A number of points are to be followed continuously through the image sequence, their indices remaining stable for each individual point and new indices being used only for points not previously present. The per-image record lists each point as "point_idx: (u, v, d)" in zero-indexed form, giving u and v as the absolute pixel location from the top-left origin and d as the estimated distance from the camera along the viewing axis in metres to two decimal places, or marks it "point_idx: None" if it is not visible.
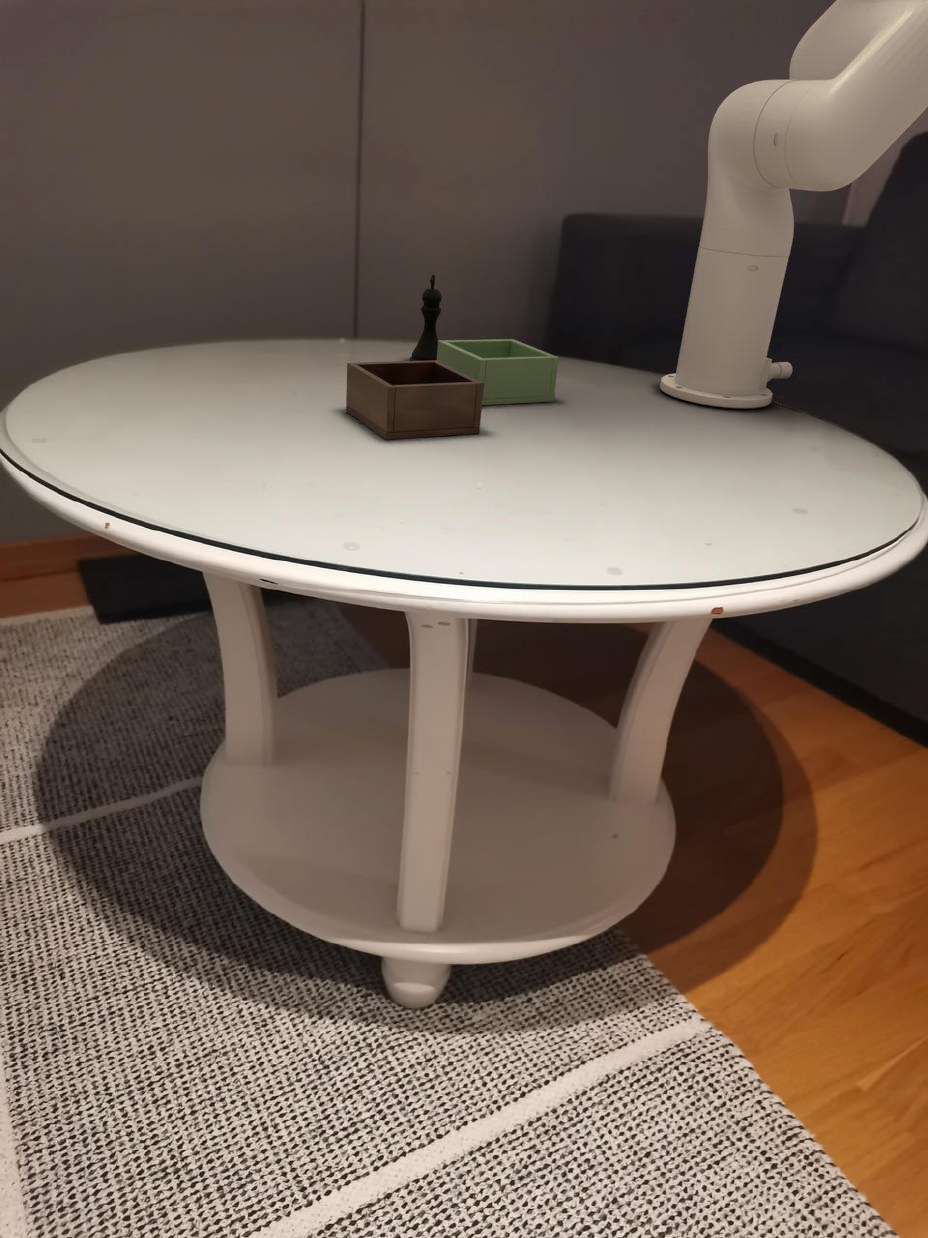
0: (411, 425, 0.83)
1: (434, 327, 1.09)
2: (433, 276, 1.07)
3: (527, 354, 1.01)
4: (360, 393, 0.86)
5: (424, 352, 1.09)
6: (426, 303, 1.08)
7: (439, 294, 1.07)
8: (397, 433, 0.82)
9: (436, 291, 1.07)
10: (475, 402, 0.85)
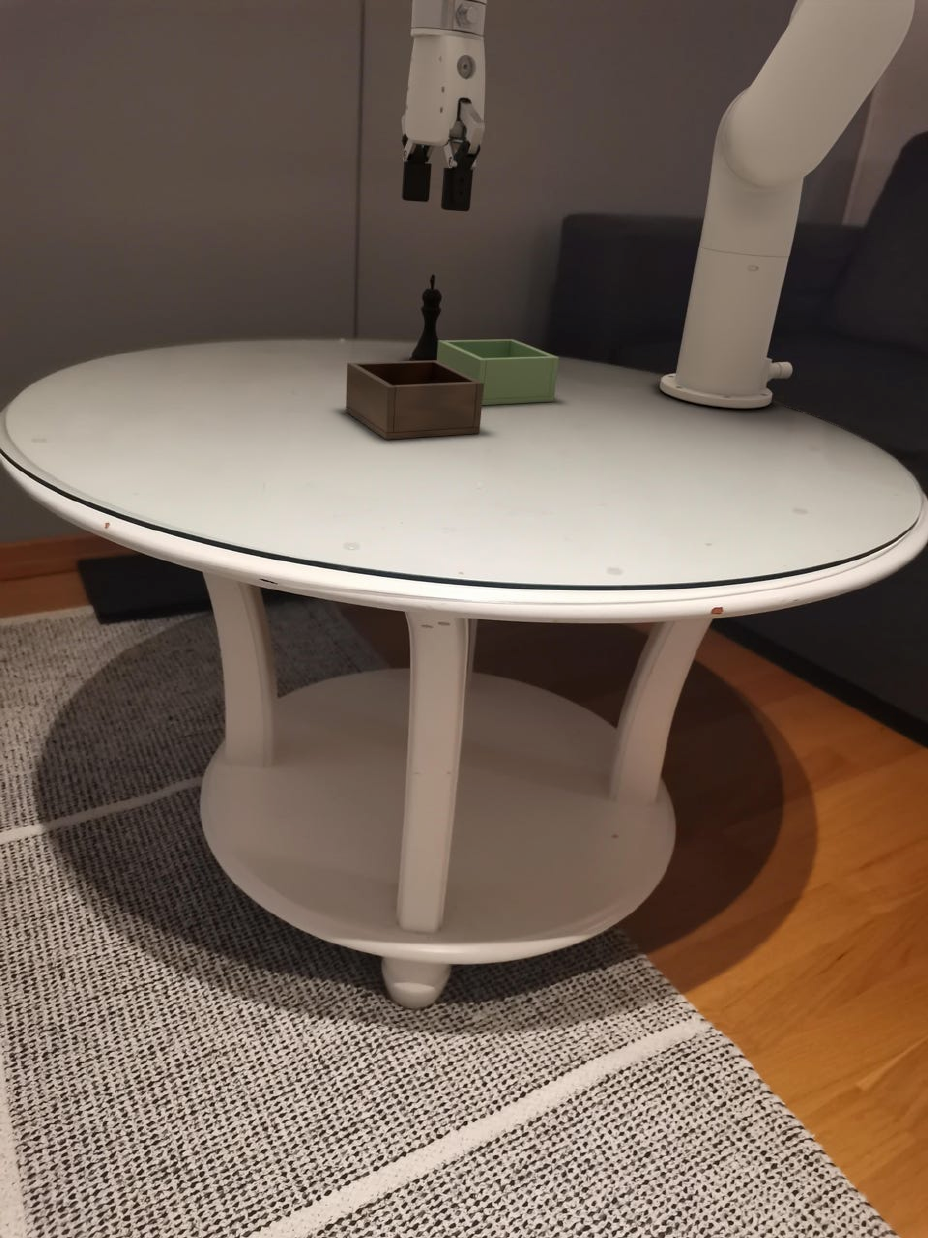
0: (411, 425, 0.83)
1: (434, 327, 1.09)
2: (433, 276, 1.07)
3: (527, 354, 1.01)
4: (360, 393, 0.86)
5: (424, 352, 1.09)
6: (426, 303, 1.08)
7: (439, 294, 1.07)
8: (397, 433, 0.82)
9: (436, 291, 1.07)
10: (475, 402, 0.85)
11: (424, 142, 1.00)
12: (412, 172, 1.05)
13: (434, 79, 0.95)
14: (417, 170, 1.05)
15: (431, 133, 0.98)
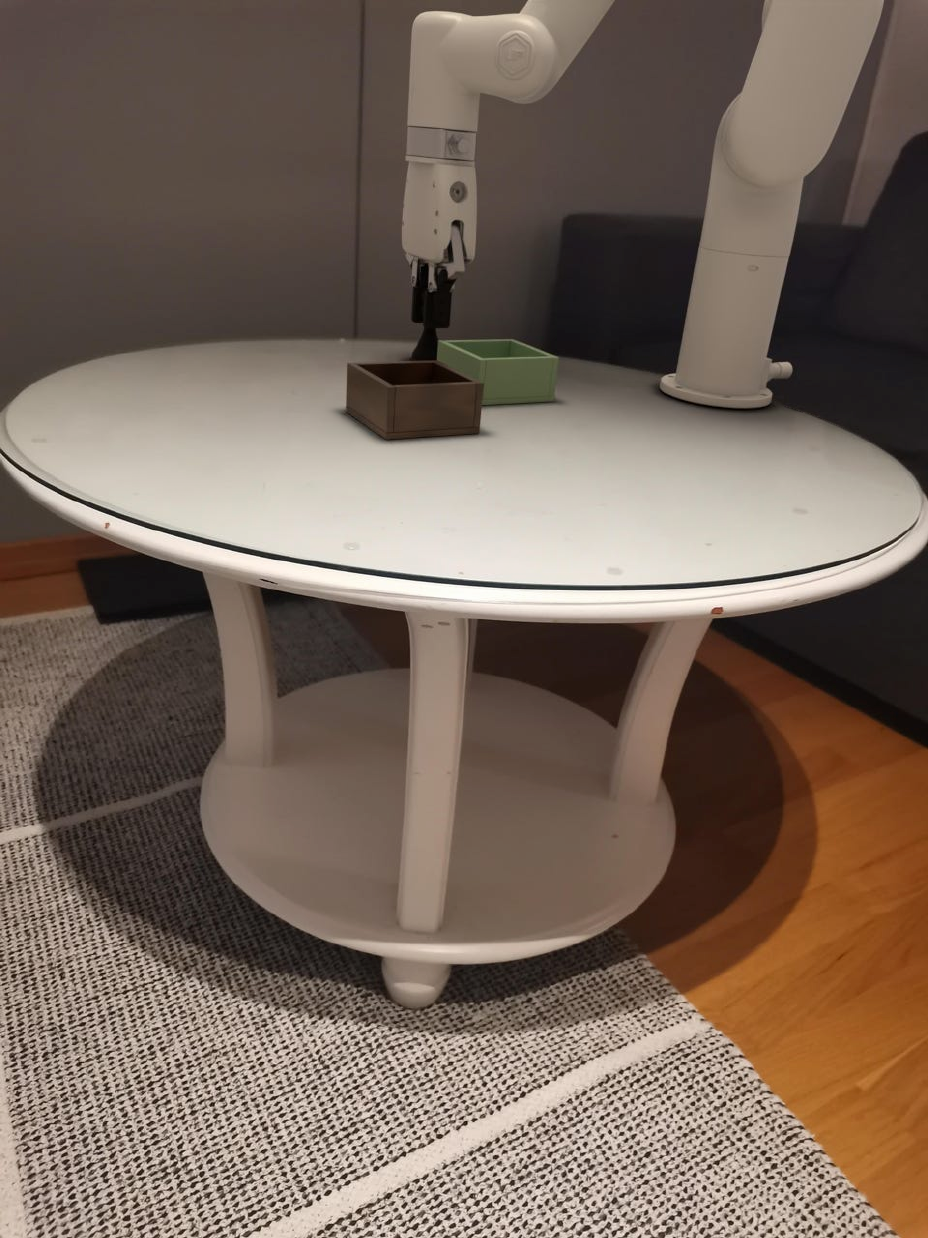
0: (411, 425, 0.83)
1: None
2: None
3: (527, 354, 1.01)
4: (360, 393, 0.86)
5: (424, 352, 1.09)
6: None
7: None
8: (397, 433, 0.82)
9: None
10: (475, 402, 0.85)
11: (420, 257, 1.05)
12: (421, 297, 1.09)
13: (428, 203, 1.00)
14: None
15: (426, 251, 1.03)
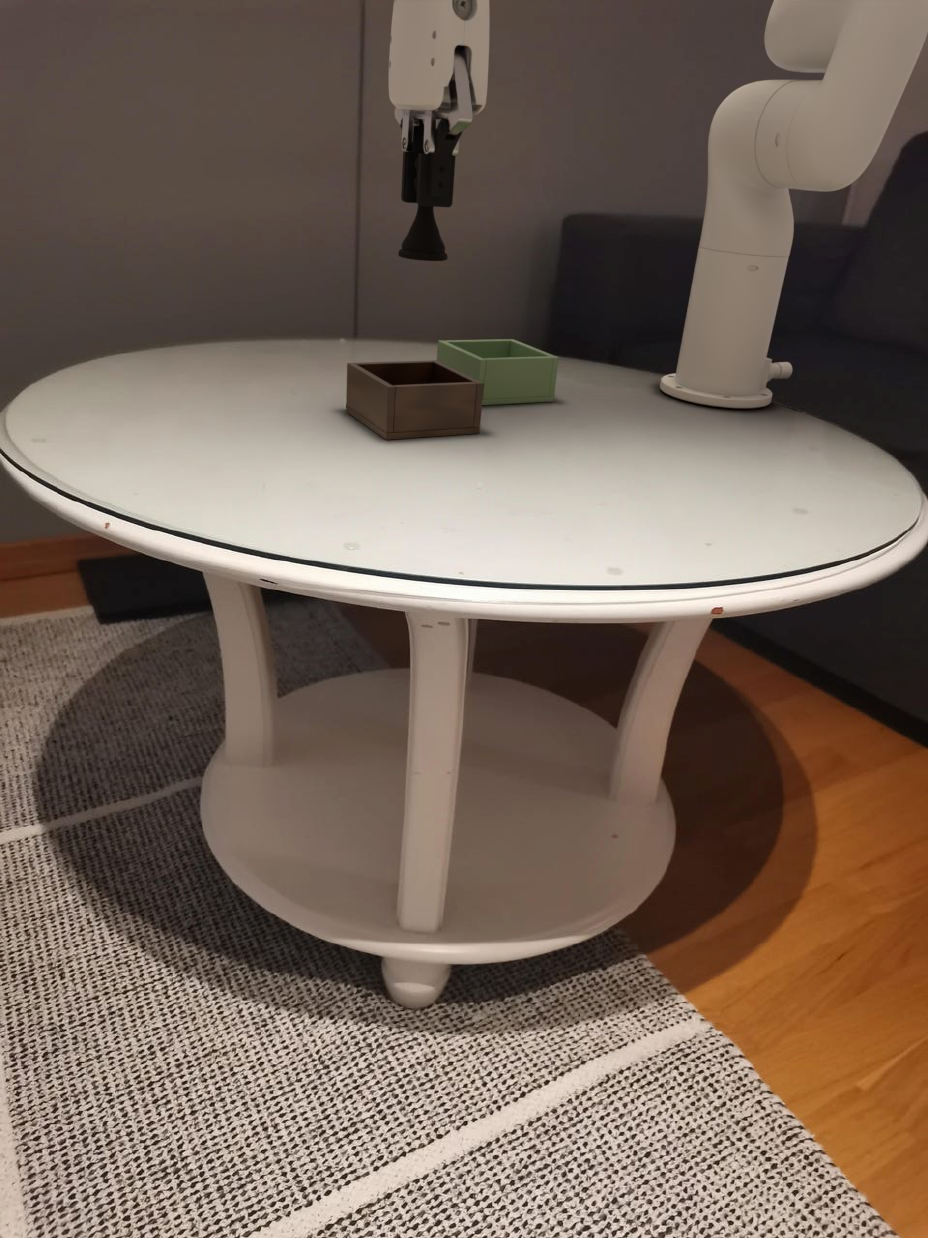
0: (411, 425, 0.83)
1: (431, 207, 0.82)
2: None
3: (527, 354, 1.01)
4: (360, 393, 0.86)
5: (418, 241, 0.82)
6: None
7: None
8: (397, 433, 0.82)
9: None
10: (475, 402, 0.85)
11: (412, 107, 0.78)
12: (414, 166, 0.81)
13: (423, 22, 0.73)
14: None
15: (421, 94, 0.76)
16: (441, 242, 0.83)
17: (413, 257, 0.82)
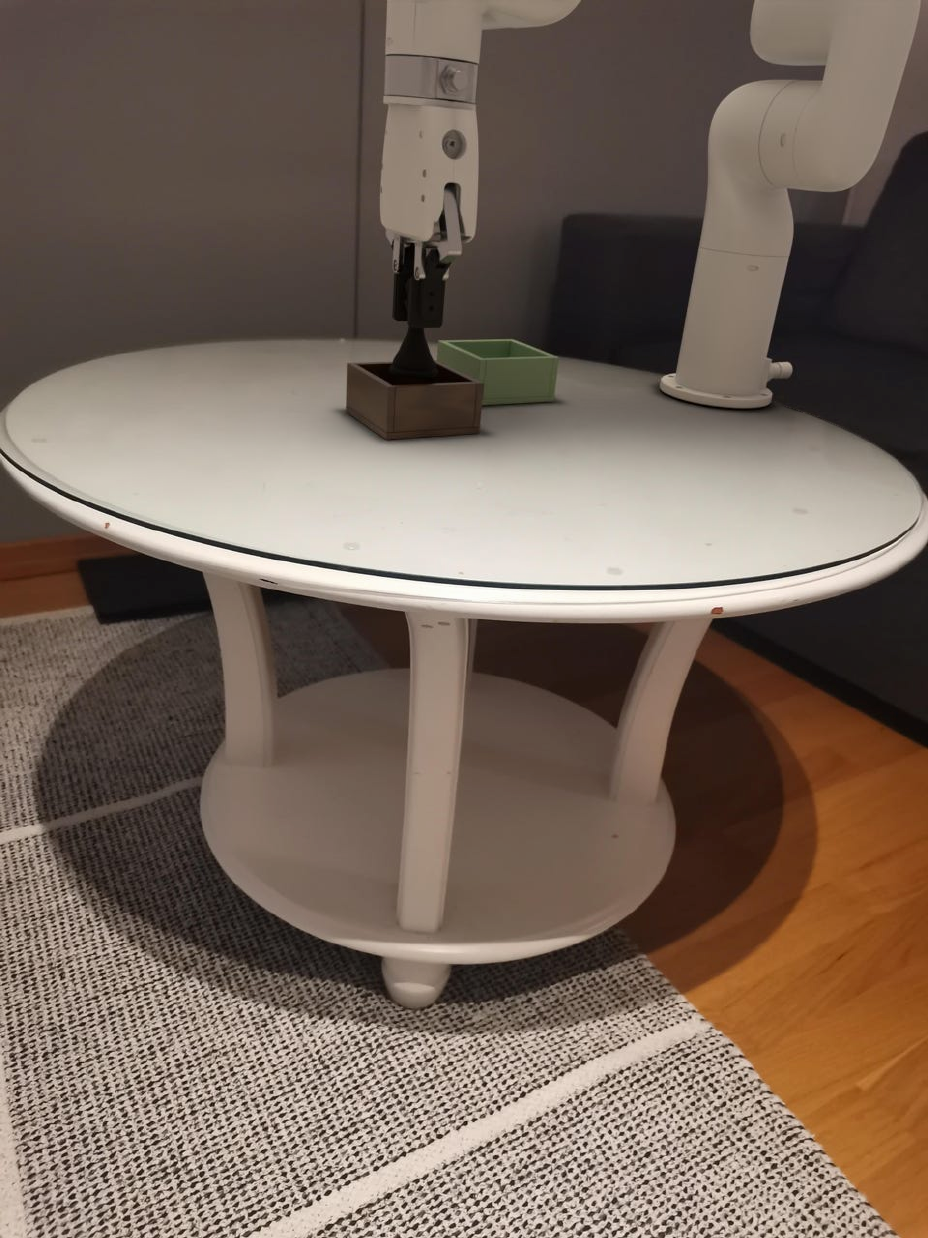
0: (411, 425, 0.83)
1: None
2: None
3: (527, 354, 1.01)
4: (360, 393, 0.86)
5: (409, 360, 0.84)
6: None
7: None
8: (397, 433, 0.82)
9: None
10: (475, 402, 0.85)
11: (403, 234, 0.80)
12: None
13: (413, 159, 0.75)
14: None
15: (411, 225, 0.77)
16: (431, 360, 0.85)
17: (404, 375, 0.84)
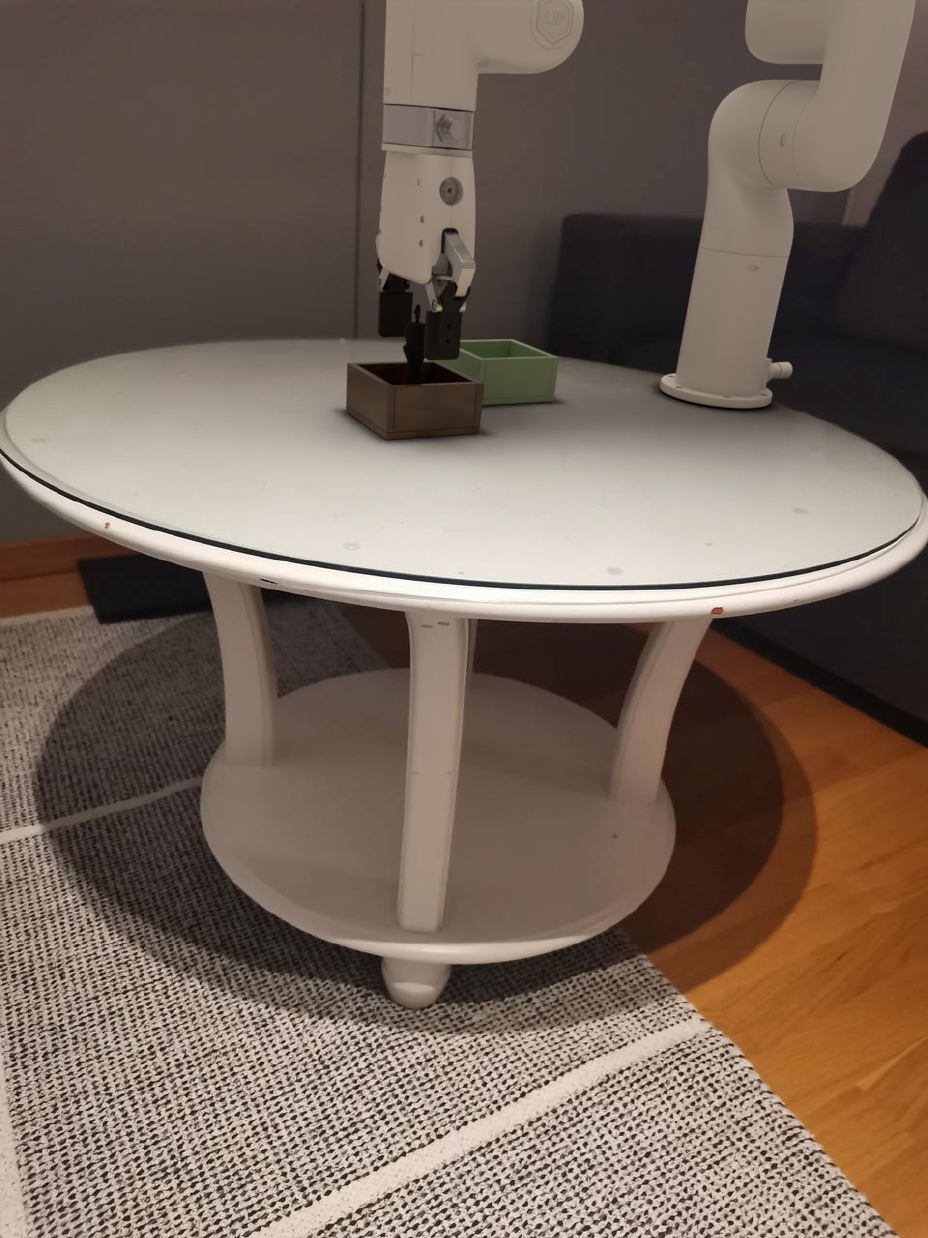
0: (411, 425, 0.83)
1: (420, 371, 0.85)
2: (418, 307, 0.83)
3: (527, 354, 1.01)
4: (360, 393, 0.86)
5: None
6: (409, 341, 0.84)
7: None
8: (397, 433, 0.82)
9: (422, 326, 0.83)
10: (475, 402, 0.85)
11: (402, 276, 0.81)
12: (389, 305, 0.86)
13: (411, 205, 0.76)
14: (395, 302, 0.87)
15: (410, 268, 0.79)
16: None
17: None
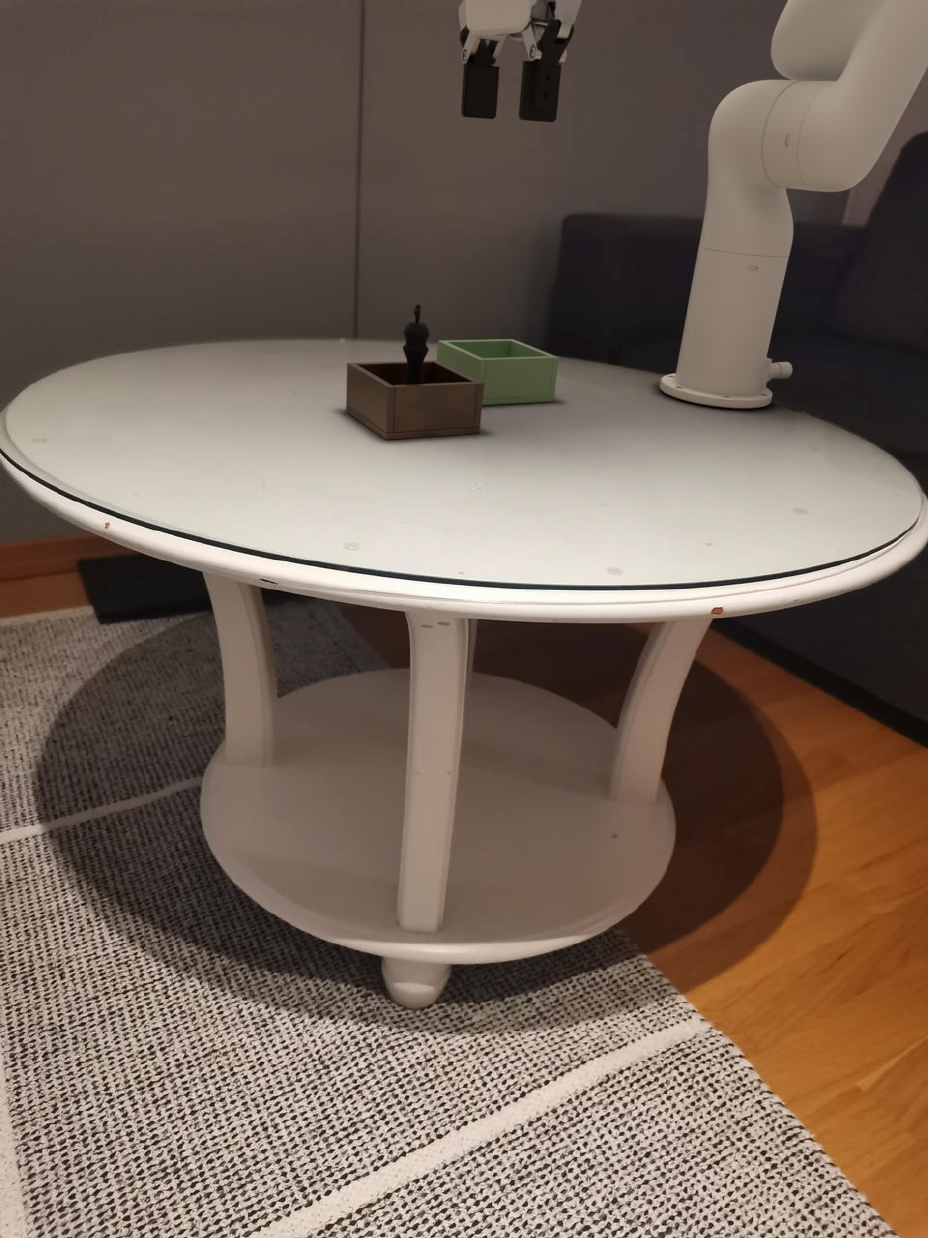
0: (411, 425, 0.83)
1: (420, 371, 0.85)
2: (418, 306, 0.83)
3: (527, 354, 1.01)
4: (360, 393, 0.86)
5: None
6: (409, 341, 0.84)
7: (426, 329, 0.84)
8: (397, 433, 0.82)
9: (422, 326, 0.83)
10: (475, 402, 0.85)
11: (493, 31, 0.75)
12: (475, 78, 0.80)
13: None
14: (481, 75, 0.80)
15: (504, 15, 0.72)
16: None
17: None
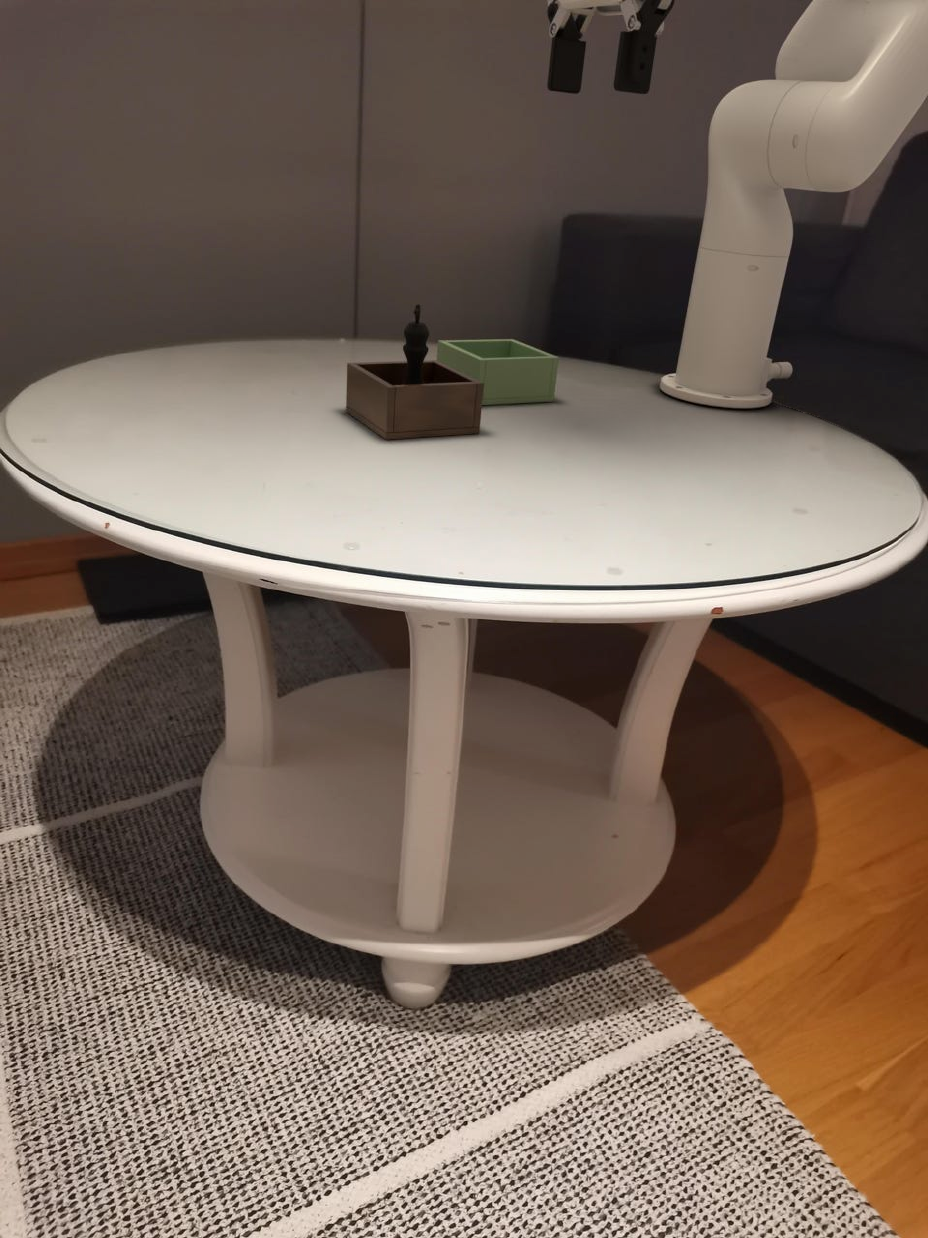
0: (411, 425, 0.83)
1: (420, 371, 0.85)
2: (418, 306, 0.83)
3: (527, 354, 1.01)
4: (360, 393, 0.86)
5: None
6: (409, 341, 0.84)
7: (426, 329, 0.84)
8: (397, 433, 0.82)
9: (422, 326, 0.83)
10: (475, 402, 0.85)
11: (588, 3, 0.75)
12: (562, 52, 0.81)
13: None
14: (569, 49, 0.81)
15: None
16: None
17: None
